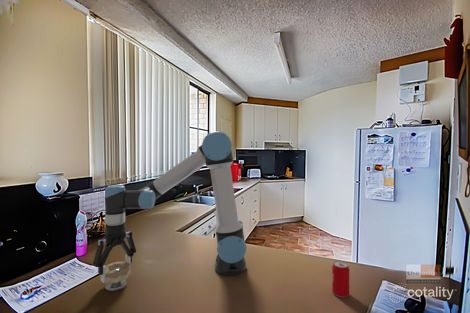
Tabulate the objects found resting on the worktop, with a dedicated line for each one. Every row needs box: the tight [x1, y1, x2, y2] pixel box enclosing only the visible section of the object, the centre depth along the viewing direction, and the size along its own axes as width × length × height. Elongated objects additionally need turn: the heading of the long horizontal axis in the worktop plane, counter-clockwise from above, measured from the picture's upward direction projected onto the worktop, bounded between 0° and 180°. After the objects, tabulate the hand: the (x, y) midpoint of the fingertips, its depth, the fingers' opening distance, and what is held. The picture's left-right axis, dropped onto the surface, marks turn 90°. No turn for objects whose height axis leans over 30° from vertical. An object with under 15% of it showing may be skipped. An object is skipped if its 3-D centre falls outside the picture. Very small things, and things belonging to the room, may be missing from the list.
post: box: [104, 267, 128, 292], centre depth 102 cm, size 8×8×7 cm
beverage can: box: [331, 260, 350, 299], centre depth 96 cm, size 6×6×12 cm
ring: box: [104, 261, 131, 284], centre depth 102 cm, size 10×10×4 cm
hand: (116, 275), depth 102 cm, fingers closed on ring, 10 cm apart
